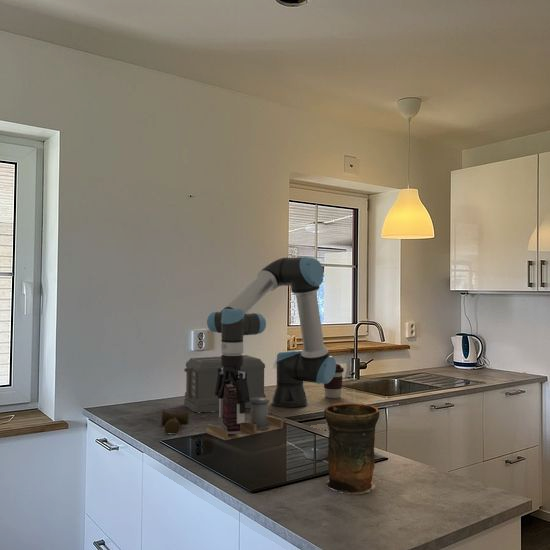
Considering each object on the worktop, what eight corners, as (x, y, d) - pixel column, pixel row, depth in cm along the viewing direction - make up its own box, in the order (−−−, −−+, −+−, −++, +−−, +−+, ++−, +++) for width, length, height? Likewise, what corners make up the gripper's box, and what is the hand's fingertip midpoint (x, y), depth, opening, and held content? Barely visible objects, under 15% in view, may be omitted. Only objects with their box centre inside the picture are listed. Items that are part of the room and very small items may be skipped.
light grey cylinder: (260, 424, 204) (260, 396, 204) (273, 428, 198) (273, 399, 199) (244, 427, 199) (244, 399, 199) (257, 431, 194) (257, 402, 194)
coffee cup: (343, 395, 264) (343, 363, 265) (343, 399, 255) (344, 366, 255) (322, 394, 265) (322, 362, 266) (321, 398, 256) (322, 365, 256)
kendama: (157, 436, 192) (163, 421, 212) (185, 437, 193) (189, 421, 213) (157, 419, 192) (164, 405, 212) (186, 419, 193) (189, 405, 213)
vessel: (391, 484, 146) (390, 407, 146) (360, 500, 135) (359, 418, 135) (345, 471, 155) (344, 399, 155) (313, 486, 145) (312, 409, 145)
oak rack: (263, 424, 207) (263, 413, 207) (282, 430, 199) (282, 419, 199) (206, 436, 191) (206, 424, 191) (225, 443, 183) (225, 430, 183)
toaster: (177, 405, 239) (178, 358, 240) (250, 399, 255) (250, 354, 255) (191, 414, 223) (191, 363, 223) (267, 407, 238) (268, 359, 238)
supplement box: (240, 433, 188) (241, 386, 188) (226, 434, 186) (227, 387, 186) (235, 427, 196) (236, 381, 196) (222, 427, 195) (222, 382, 195)
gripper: (204, 351, 198) (204, 415, 197) (243, 358, 181) (242, 428, 180) (222, 350, 202) (221, 412, 202) (261, 356, 186) (260, 424, 185)
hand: (231, 419), depth 191 cm, fingers open, 10 cm apart
